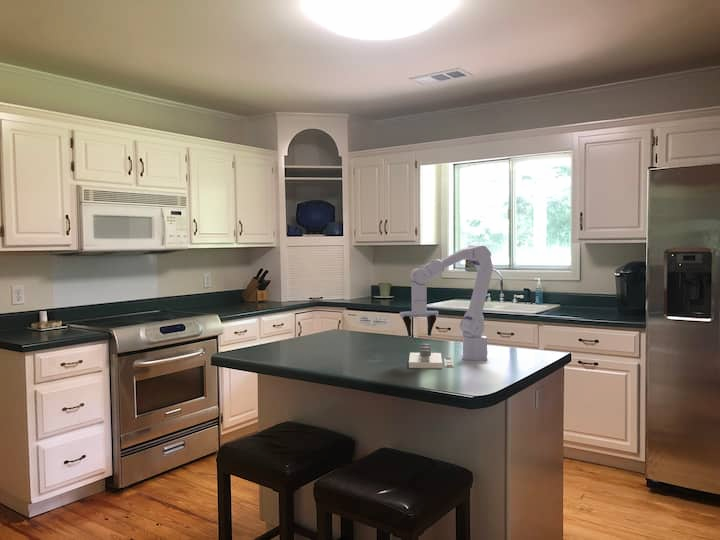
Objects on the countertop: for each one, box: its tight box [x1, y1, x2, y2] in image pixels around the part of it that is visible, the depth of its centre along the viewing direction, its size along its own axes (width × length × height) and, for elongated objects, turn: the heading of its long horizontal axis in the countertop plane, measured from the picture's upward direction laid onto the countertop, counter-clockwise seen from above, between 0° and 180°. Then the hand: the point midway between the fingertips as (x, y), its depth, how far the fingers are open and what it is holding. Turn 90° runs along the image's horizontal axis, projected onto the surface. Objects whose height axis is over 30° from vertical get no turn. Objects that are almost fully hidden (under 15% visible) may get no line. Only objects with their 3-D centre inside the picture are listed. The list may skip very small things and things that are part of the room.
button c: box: [419, 349, 432, 362], centre depth 213 cm, size 4×4×4 cm
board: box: [408, 352, 443, 369], centre depth 219 cm, size 12×18×2 cm, turn 174°
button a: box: [419, 343, 432, 348], centre depth 225 cm, size 4×4×4 cm
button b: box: [419, 346, 432, 351], centre depth 219 cm, size 4×4×4 cm
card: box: [443, 357, 455, 368], centre depth 219 cm, size 3×14×1 cm, turn 173°
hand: (419, 335), depth 222 cm, fingers open, 7 cm apart
